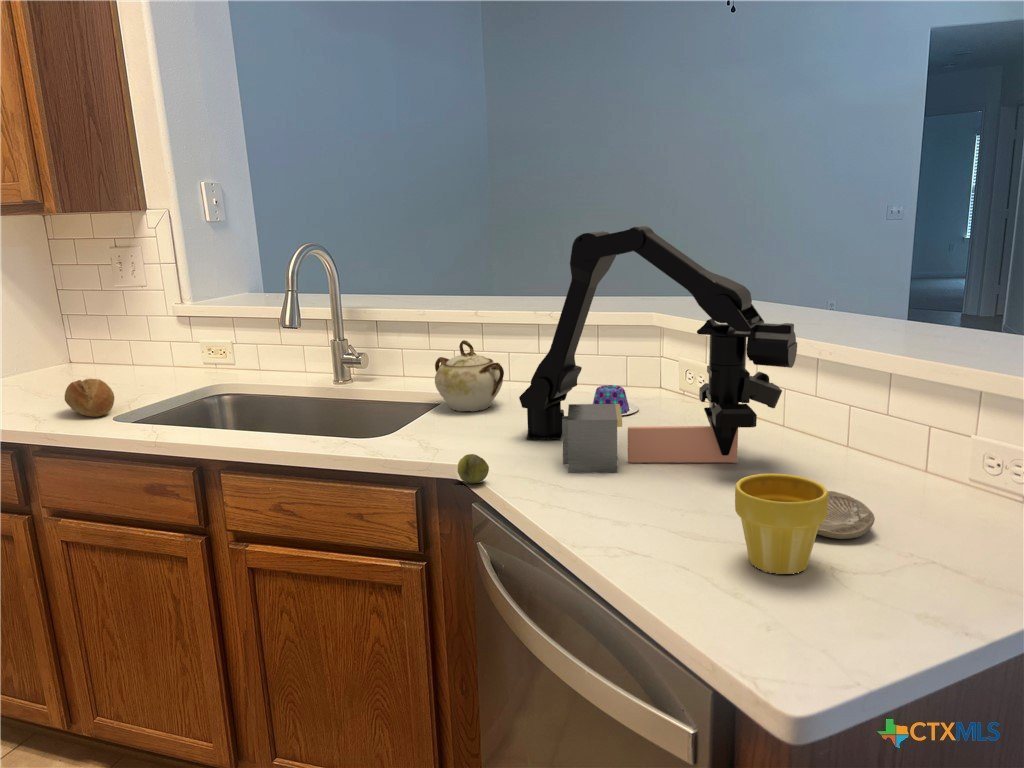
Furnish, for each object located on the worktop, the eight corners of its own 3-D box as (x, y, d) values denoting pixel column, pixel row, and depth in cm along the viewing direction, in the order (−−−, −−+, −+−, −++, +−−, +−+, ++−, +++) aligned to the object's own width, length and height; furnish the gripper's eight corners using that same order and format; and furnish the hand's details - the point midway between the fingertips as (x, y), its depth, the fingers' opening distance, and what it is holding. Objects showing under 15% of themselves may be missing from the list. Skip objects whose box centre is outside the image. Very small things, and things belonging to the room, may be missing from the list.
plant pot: (748, 538, 100) (751, 466, 98) (832, 556, 94) (837, 480, 92) (720, 569, 92) (723, 492, 90) (810, 591, 86) (815, 509, 84)
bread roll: (77, 424, 168) (71, 388, 166) (60, 412, 179) (55, 378, 177) (124, 415, 174) (119, 380, 172) (105, 404, 185) (100, 371, 183)
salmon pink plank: (627, 462, 130) (627, 428, 129) (627, 460, 131) (627, 426, 130) (737, 462, 128) (738, 427, 127) (735, 460, 129) (737, 426, 128)
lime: (455, 481, 125) (453, 452, 124) (483, 476, 126) (481, 447, 125) (463, 490, 121) (462, 460, 119) (492, 485, 122) (491, 455, 121)
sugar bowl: (414, 408, 171) (410, 342, 167) (459, 394, 182) (456, 332, 179) (481, 421, 159) (478, 350, 155) (526, 405, 170) (523, 338, 166)
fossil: (823, 556, 97) (823, 536, 96) (768, 518, 107) (768, 499, 106) (892, 537, 99) (893, 518, 98) (832, 502, 110) (832, 484, 109)
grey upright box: (562, 472, 127) (561, 420, 125) (564, 453, 137) (563, 404, 135) (622, 472, 126) (622, 419, 124) (619, 453, 136) (619, 403, 134)
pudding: (616, 422, 156) (616, 397, 155) (570, 413, 164) (570, 389, 163) (649, 410, 164) (650, 386, 163) (604, 401, 172) (604, 378, 171)
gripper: (793, 374, 115) (788, 473, 119) (765, 350, 133) (761, 437, 137) (717, 375, 116) (714, 472, 120) (699, 351, 135) (697, 437, 138)
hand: (724, 453), depth 129 cm, fingers closed on salmon pink plank
